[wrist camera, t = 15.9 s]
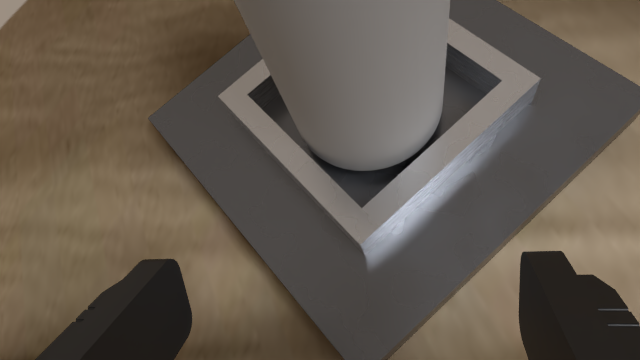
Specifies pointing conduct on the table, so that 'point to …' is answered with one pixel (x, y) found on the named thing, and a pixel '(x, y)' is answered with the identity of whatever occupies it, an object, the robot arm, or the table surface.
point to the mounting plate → (401, 173)
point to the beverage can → (356, 73)
